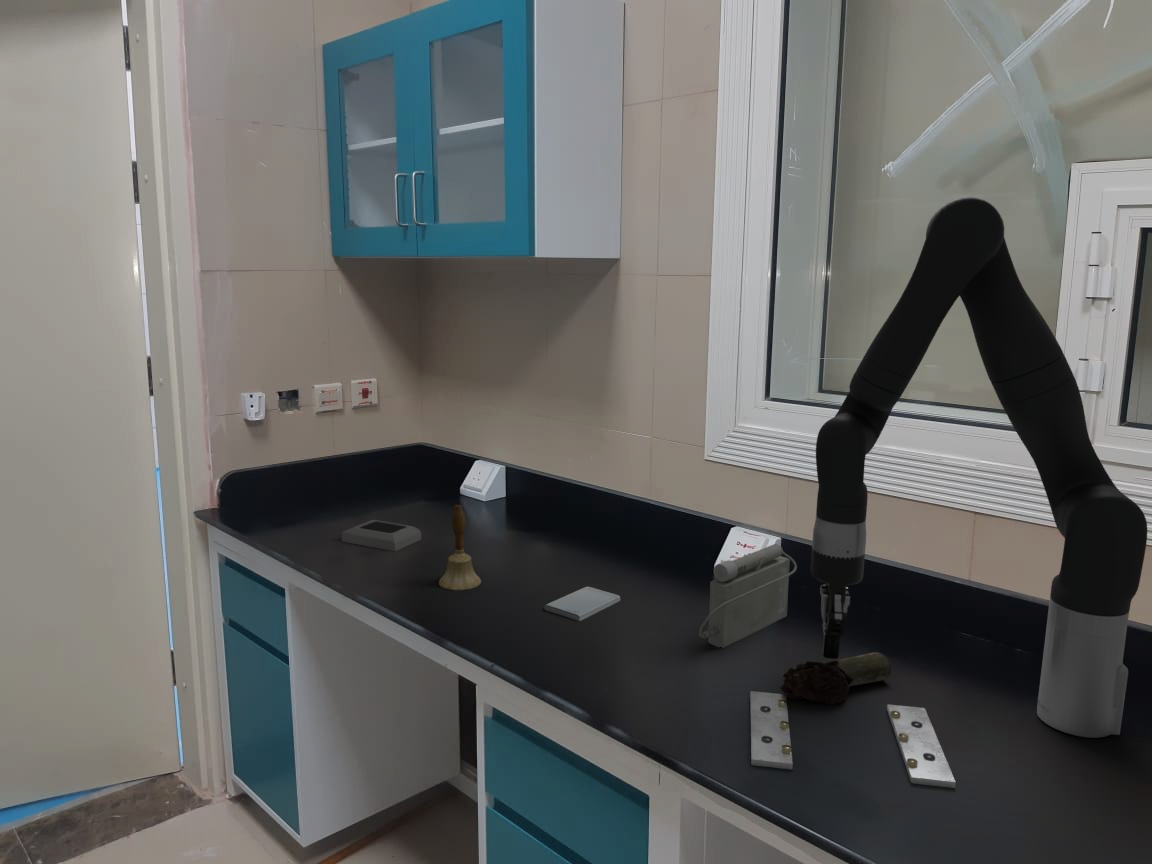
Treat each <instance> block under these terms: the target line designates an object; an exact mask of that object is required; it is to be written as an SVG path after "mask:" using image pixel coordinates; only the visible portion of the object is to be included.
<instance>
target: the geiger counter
mask: <svg viewBox="0 0 1152 864" xmlns="http://www.w3.org/2000/svg"><path fill="white" fill-rule="evenodd" d="M782 555H783V556H782ZM784 556H785V557H784ZM790 562H792V564H793V565H794V567H793V569H792V571H790V564H791V563H790ZM797 569H798V565H797V563H796V561H795V559H794V558H792V557H791V556H790V555H788V554H787V553H786V552H784V549H783V547H782V546H781V545H780V544H778V543H774V544H772V545H769V546H766V547H763V548H761V549H759V550H756V551H753V552H752V553H747V554H746V555H743V556H742V557H739V558H736V559H733V560H730V559H728V560H724V561H722V562H720V563H717V564H715V566H714V567H713V575H714V578H715V579H713V580H712V581H710V582H709V583H710V584H709V585H710V586H709V612H708V613H709V615H707V617H706V618H705V619H704V621H703V622H702V624H701V625H700V626H699V631H698V637H700V638H702V639H704V640H705V639H708V644H710V645H712V646H714V647H717V648H720V647H722V648H721V649H724V647H725V648H726V646H727V647H729V646H730V644H731V645H732V643H733V644H734V642H735V643H737V642H738V641H740V640H742V639H744V638H746V637H748V636H751V635H752V634H754V633H756V632H759V631H760V630H762V629H764V628H766V627H768V626H770V625H773V624H774V623H776V622H778V621H780V620H783V619H784V618H786V617H787V615H788V602H789V601H788V597H789V595H788V594H789V579H790V576H792V575H793V574H795V572H797ZM707 623H708V629H706V630H705V631H703V629H704V628H705V626H706V625H707ZM702 631H703V632H702ZM736 641H737V642H736Z"/></svg>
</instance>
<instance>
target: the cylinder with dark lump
mask: <svg viewBox="0 0 1152 864" xmlns="http://www.w3.org/2000/svg"><path fill="white" fill-rule="evenodd" d="M891 674H892V669H891V664H890V662H889V660H888V658H887V657H886V656H885V655H884V654H883V653H881V652H870V653H865V654H860V655H855V656H851V657H850V656H849V657H845V658H841V659H837V660H832V661H828V662H825V663H824V662H820V661H809V660H808V661H806V662H805V663H804V664H803V663H799V664H797V665H796V667H795V669H794V668H792V667H791V668H789V669H788V670H787V671H786V672H785V673H784V674H783V676H782V677H783V678H784V679H783V684H782V685H781V687H780V688H779V689H780V691H781V692H782V693H783V694H786V696H788V698H790V699H795V700H800V699H802V700H808V701H811V702H821V703H823V704H825V705H834V704H840V703H842V702H844V701H845V700H846V698H847V695H848V693H849V690H850V687H854V686H859V685H865V684H871V683H877V682H881V681H885V680H887V679H889V678H890V676H891Z"/></svg>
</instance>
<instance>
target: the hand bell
mask: <svg viewBox="0 0 1152 864" xmlns="http://www.w3.org/2000/svg"><path fill="white" fill-rule="evenodd" d="M451 525H452V531H453V533H454V537H455V538H454V545H455V547H454V550H455V551H454V553H453V554H451V555H450V556H448V559H447V567H446V571H445V573H444V575H443V576H441V578H440V579H439V581H438V585H439V586H440V587H441V588H442V589H445V590H447V591H448V590H449V591H450V590H451V591H466V590H472V589H475V588H477V587H479V586H480V585H481V583H482V579H481V578H480V576H478V575H477V573H476V572H475V571H474V566H473V562H472V557H471V555H469V554H467V553H465V549H464V548H465V546H464V545H465V544H464V534H465V529H466V516H465V513H464V510H463V507H462V504H455V505H454V508H453V512H452V517H451Z"/></svg>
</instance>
